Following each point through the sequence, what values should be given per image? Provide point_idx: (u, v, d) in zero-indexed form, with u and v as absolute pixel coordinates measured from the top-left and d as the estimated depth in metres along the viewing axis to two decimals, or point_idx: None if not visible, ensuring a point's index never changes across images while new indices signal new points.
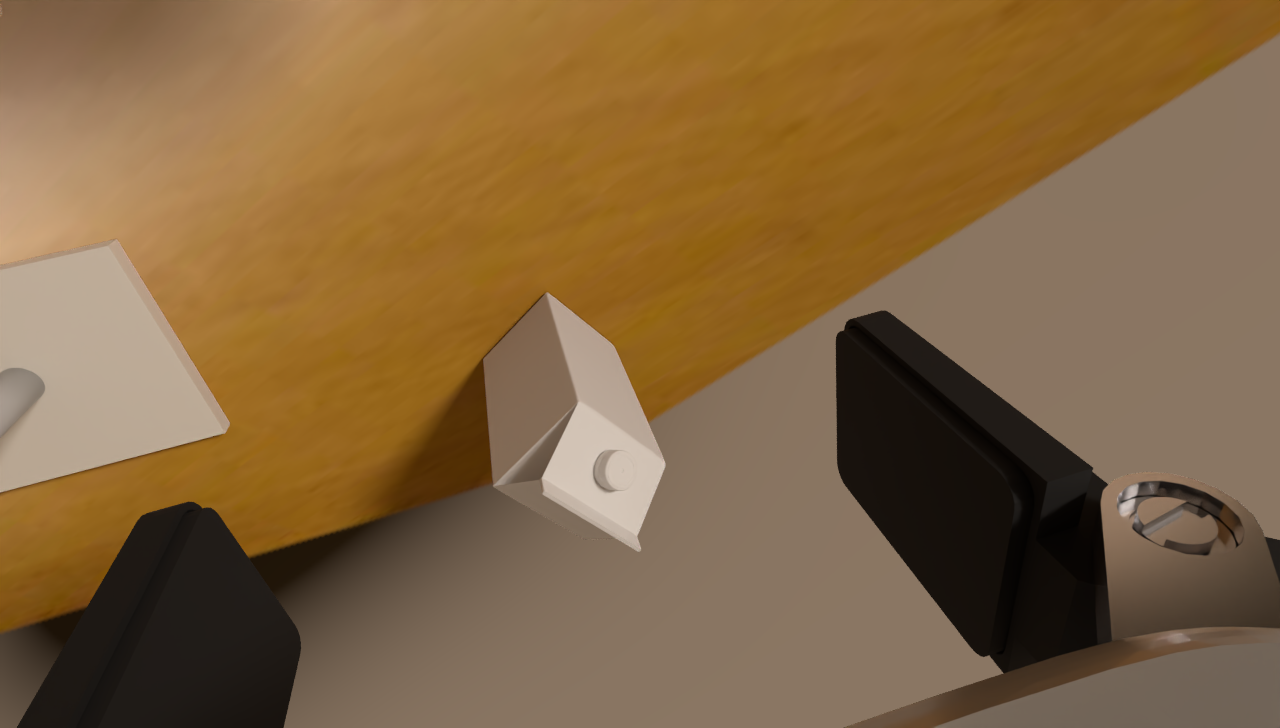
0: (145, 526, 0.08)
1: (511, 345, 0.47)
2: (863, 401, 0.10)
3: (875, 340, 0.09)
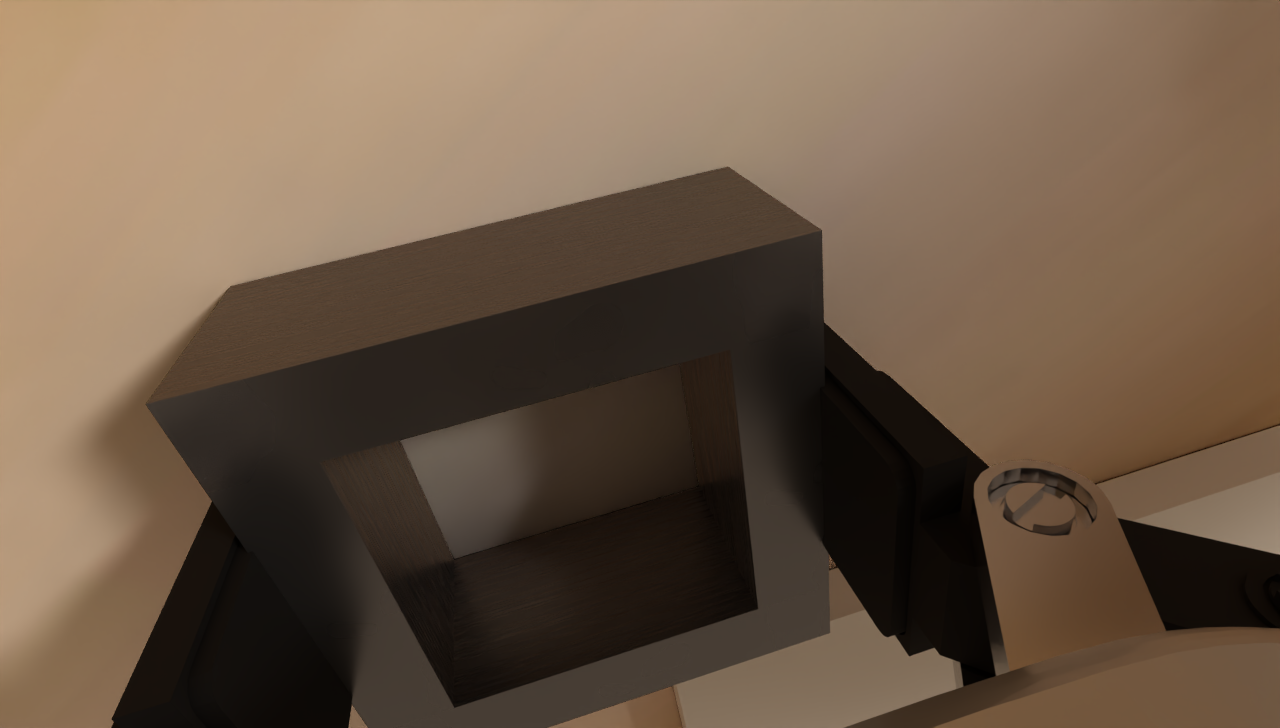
0: None
1: None
2: None
3: None
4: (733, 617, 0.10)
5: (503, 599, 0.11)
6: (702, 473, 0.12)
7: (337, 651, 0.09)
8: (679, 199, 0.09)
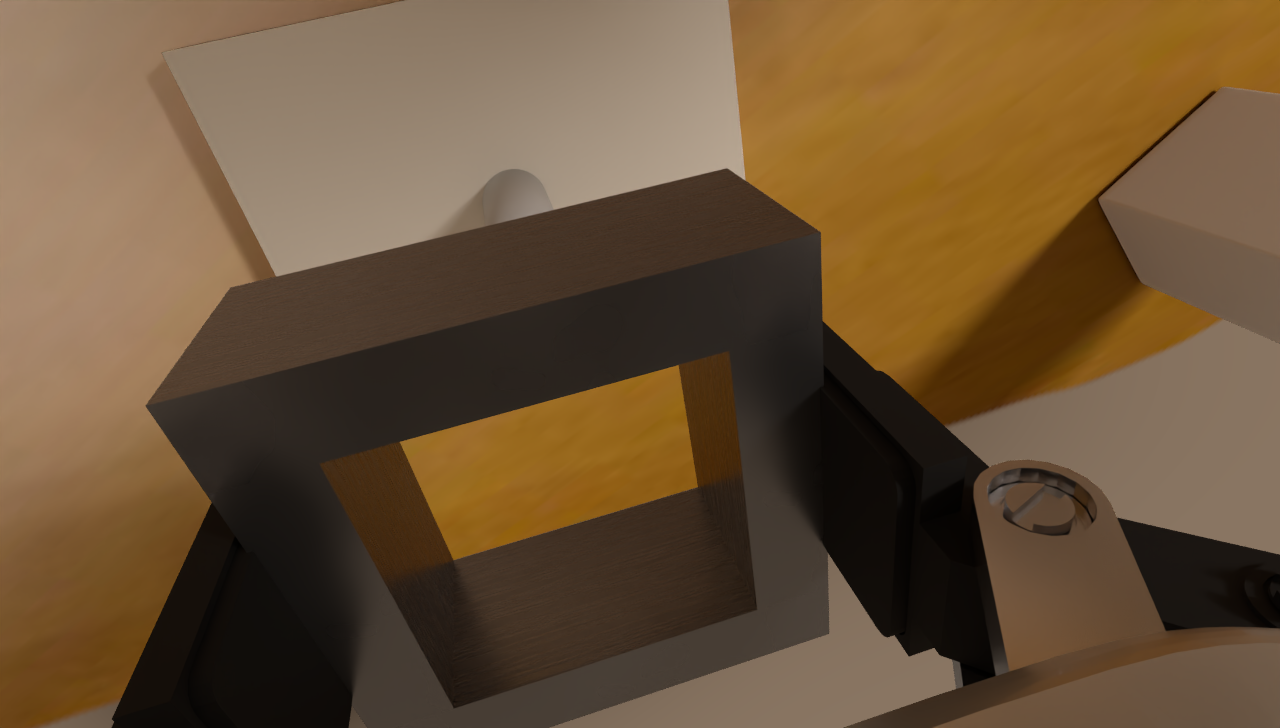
0: None
1: (1195, 161, 0.30)
2: None
3: None
4: (732, 618, 0.10)
5: (503, 600, 0.11)
6: (701, 474, 0.12)
7: (337, 652, 0.09)
8: (678, 200, 0.09)
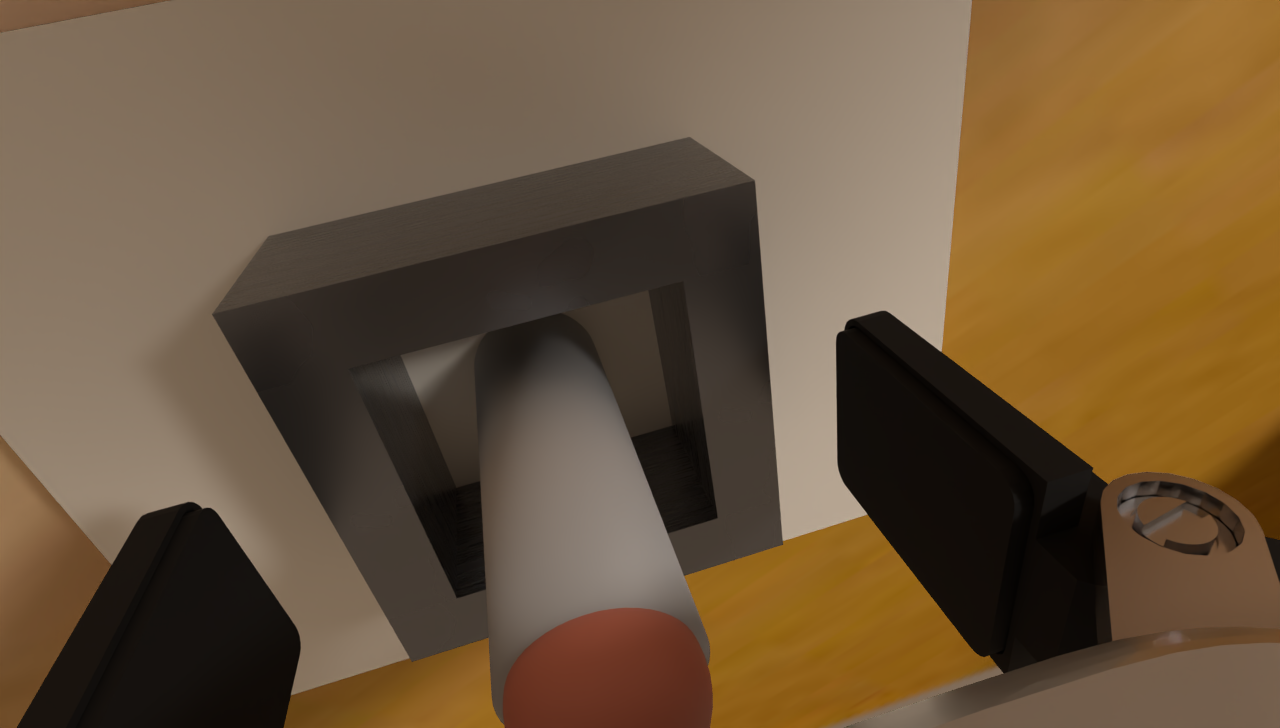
0: (145, 526, 0.08)
1: None
2: (863, 401, 0.10)
3: (875, 340, 0.09)
4: (696, 525, 0.12)
5: None
6: (674, 410, 0.14)
7: (359, 539, 0.10)
8: (645, 162, 0.11)
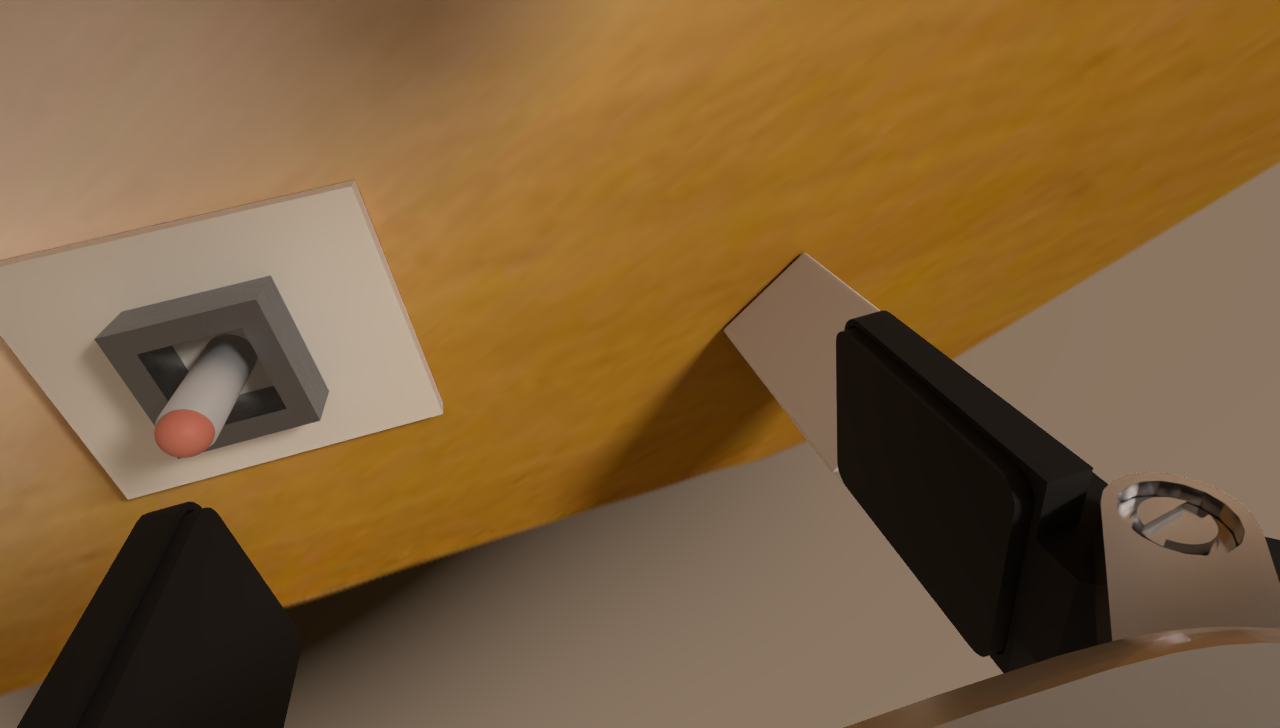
0: (145, 526, 0.08)
1: (771, 311, 0.40)
2: (863, 401, 0.10)
3: (875, 340, 0.09)
4: (278, 410, 0.34)
5: None
6: None
7: (149, 409, 0.33)
8: (245, 287, 0.33)
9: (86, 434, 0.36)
